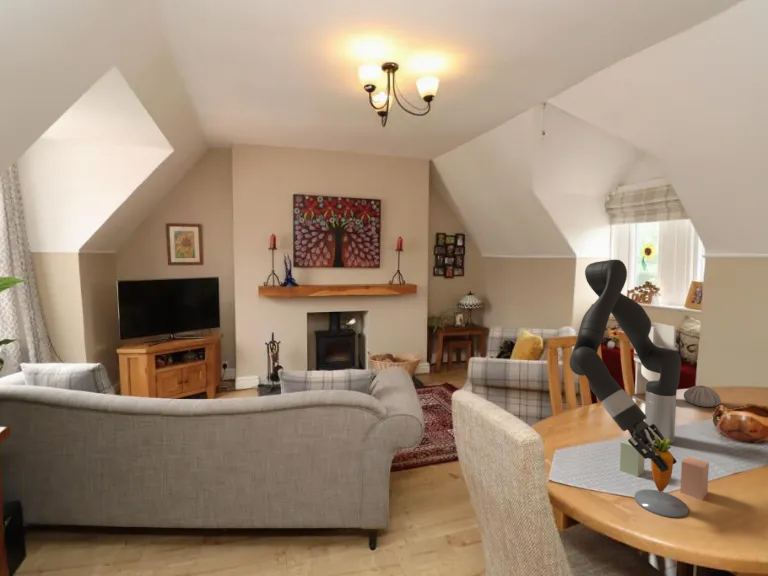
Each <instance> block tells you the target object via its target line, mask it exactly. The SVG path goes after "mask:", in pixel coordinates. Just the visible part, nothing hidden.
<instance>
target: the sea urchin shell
mask: <svg viewBox="0 0 768 576" xmlns="http://www.w3.org/2000/svg"><path fill="white" fill-rule="evenodd" d="M683 398H684V401H686V402H688V403H689V404H691V405H694V406H698V407H702V408H703V407H704V408H706V407H707V408H711V407H713V408H714V407H717V406H719V405H720V404H721V402H722V399H721V397H720V395H719V394H718V393H717V391H715V390H714V389H713V388H711V387H708V386H706V385H694V386H691V387H689V388H688V389H686V390H685V391H684V393H683Z"/></svg>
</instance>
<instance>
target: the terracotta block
mask: <svg viewBox="0 0 768 576" xmlns="http://www.w3.org/2000/svg"><path fill="white" fill-rule="evenodd" d="M709 466H710V462H708V461H705V460H701V459H699V458H695V457H693V456H688V455H687V456H686V457H685V458H684V459H683V460H682V461H681V466H680V467H681V470H680V471H681V472H680V490H679V491H680V493H681V494H684V495H686V496H689V497H691V498H695V499H698V500H700V501H703V500H704V498H705V497H706V496H707V495H708V489H709V488H708V487H709V485H708V484H709V469H710V467H709Z"/></svg>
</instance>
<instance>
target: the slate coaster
mask: <svg viewBox="0 0 768 576" xmlns="http://www.w3.org/2000/svg"><path fill="white" fill-rule="evenodd" d="M634 500H635V502H636V504H638V505H639V507H641V508H643V509H644V510H646V511H647V512H650V513H652V514H654V515H658V516H660V517H666V518H672V519H673V518H674V519H675V518H684V517H685V516H688V514H689V507H688V505H687V504H686V503H685V502H684V501H683V500H682V499H680V498H678V497H677V496H675V495H673V494H670V493H668V492H664V491H662V492H660V491H659V490H658V489H657V490H656V489H640V490H638V491H636V492H635V493H634Z"/></svg>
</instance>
